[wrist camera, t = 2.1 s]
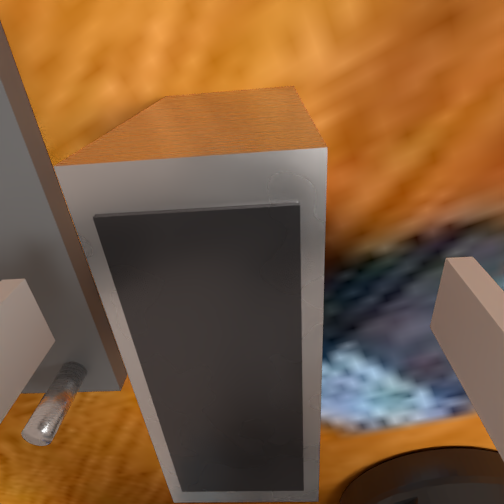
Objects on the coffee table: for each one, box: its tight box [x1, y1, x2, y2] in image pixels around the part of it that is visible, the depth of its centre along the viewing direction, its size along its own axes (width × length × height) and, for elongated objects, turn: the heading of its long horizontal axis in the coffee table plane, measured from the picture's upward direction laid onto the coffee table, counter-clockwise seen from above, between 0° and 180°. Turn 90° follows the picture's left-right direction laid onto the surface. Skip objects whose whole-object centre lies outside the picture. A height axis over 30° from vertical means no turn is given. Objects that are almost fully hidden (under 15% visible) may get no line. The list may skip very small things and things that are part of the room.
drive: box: [54, 86, 327, 503], centre depth 13 cm, size 12×5×9 cm, turn 5°
